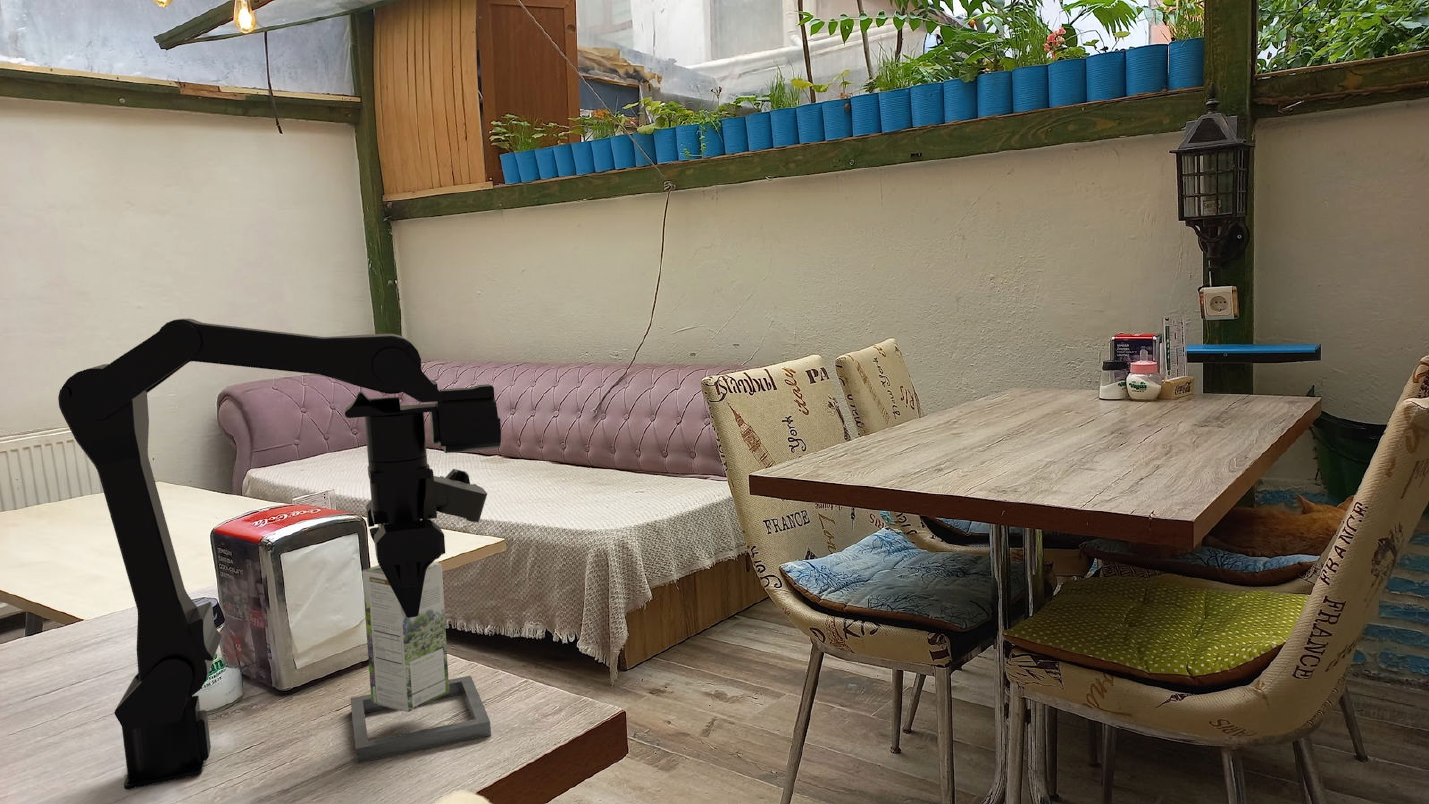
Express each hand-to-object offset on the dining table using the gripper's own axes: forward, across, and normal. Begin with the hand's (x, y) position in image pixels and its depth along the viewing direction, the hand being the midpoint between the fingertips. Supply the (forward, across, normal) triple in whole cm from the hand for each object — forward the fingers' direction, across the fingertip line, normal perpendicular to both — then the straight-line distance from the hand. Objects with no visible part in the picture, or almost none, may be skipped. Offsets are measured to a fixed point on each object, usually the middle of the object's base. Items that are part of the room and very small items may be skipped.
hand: (408, 605), depth 101 cm
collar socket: (+13, 0, 0) cm, 13 cm away
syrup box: (+10, 0, 0) cm, 10 cm away
